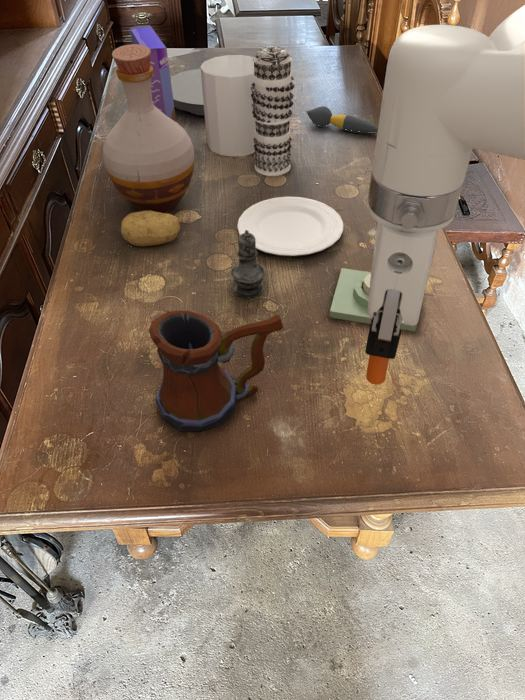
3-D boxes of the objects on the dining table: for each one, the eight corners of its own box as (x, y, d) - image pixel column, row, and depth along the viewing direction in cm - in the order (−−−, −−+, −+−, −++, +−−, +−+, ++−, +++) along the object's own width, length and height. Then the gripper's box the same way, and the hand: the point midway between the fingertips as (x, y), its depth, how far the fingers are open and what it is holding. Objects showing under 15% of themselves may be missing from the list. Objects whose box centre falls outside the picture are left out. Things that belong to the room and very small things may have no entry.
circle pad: (394, 282, 92) (396, 274, 90) (391, 301, 88) (393, 293, 87) (364, 278, 93) (366, 270, 91) (360, 296, 89) (362, 288, 88)
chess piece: (229, 297, 93) (225, 239, 85) (235, 276, 97) (231, 218, 89) (263, 300, 93) (262, 241, 84) (267, 279, 97) (267, 221, 88)
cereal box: (180, 156, 131) (166, 46, 113) (161, 159, 130) (143, 49, 112) (165, 127, 142) (150, 24, 125) (147, 130, 141) (129, 26, 124)
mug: (274, 361, 83) (274, 284, 72) (289, 421, 75) (292, 345, 64) (156, 377, 81) (138, 300, 70) (158, 440, 73) (138, 365, 62)
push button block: (420, 286, 95) (423, 272, 93) (415, 331, 87) (418, 318, 85) (340, 274, 98) (342, 260, 95) (328, 317, 90) (330, 303, 87)
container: (275, 137, 137) (275, 60, 124) (246, 161, 128) (243, 81, 115) (227, 126, 142) (222, 51, 129) (196, 148, 133) (187, 70, 120)
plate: (334, 269, 98) (335, 261, 97) (225, 255, 102) (224, 246, 101) (349, 210, 113) (349, 201, 111) (252, 199, 116) (251, 191, 115)
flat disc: (273, 115, 146) (273, 98, 143) (170, 127, 142) (168, 109, 139) (251, 78, 165) (251, 63, 162) (160, 88, 161) (157, 72, 158)
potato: (126, 234, 108) (120, 206, 103) (182, 231, 108) (178, 203, 104) (122, 253, 103) (116, 225, 98) (181, 250, 103) (177, 222, 99)
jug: (121, 181, 122) (88, 33, 101) (200, 177, 123) (184, 29, 102) (110, 230, 109) (70, 70, 87) (199, 225, 109) (181, 66, 88)
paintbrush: (380, 129, 139) (383, 110, 135) (377, 138, 136) (380, 118, 132) (306, 120, 144) (307, 101, 140) (301, 128, 141) (302, 108, 137)
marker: (386, 372, 64) (400, 301, 56) (384, 386, 62) (397, 315, 55) (367, 369, 64) (377, 297, 57) (364, 383, 63) (374, 312, 55)
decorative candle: (298, 162, 127) (302, 45, 109) (281, 180, 122) (283, 60, 104) (264, 154, 130) (262, 40, 112) (246, 171, 125) (241, 53, 107)
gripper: (455, 254, 40) (410, 408, 53) (460, 156, 51) (421, 304, 64) (355, 239, 42) (334, 392, 55) (380, 148, 52) (358, 294, 66)
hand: (381, 344), depth 59 cm, fingers closed on marker, 2 cm apart
